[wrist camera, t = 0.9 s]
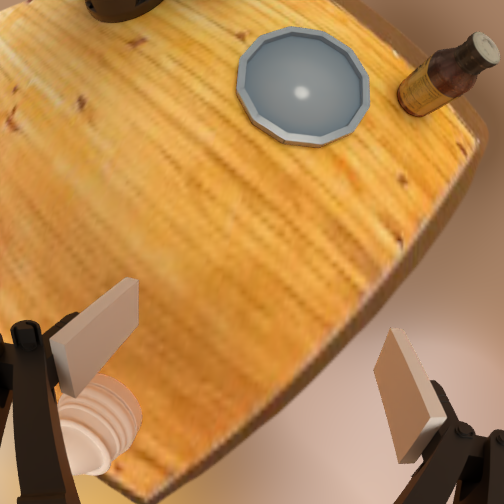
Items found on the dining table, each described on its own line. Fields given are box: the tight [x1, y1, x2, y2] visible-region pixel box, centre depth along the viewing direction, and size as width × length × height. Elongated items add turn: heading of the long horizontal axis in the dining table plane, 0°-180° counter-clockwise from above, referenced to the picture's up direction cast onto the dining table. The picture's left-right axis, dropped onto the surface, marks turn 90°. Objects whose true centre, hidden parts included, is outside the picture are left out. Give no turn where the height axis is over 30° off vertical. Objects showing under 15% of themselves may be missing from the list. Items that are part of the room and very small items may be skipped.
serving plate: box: [236, 26, 370, 148], centre depth 39 cm, size 18×18×2 cm
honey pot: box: [57, 373, 142, 475], centre depth 35 cm, size 13×13×18 cm
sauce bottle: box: [398, 32, 500, 117], centre depth 31 cm, size 7×6×20 cm
